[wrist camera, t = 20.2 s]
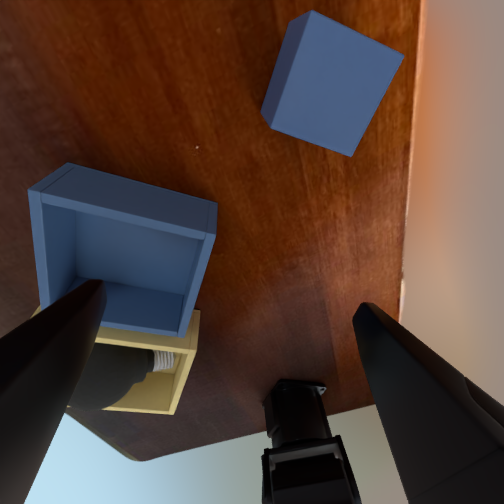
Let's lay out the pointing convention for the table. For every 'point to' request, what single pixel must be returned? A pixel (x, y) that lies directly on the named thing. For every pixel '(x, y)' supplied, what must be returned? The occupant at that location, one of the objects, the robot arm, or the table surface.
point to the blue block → (327, 83)
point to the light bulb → (115, 374)
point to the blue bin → (122, 246)
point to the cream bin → (159, 382)
